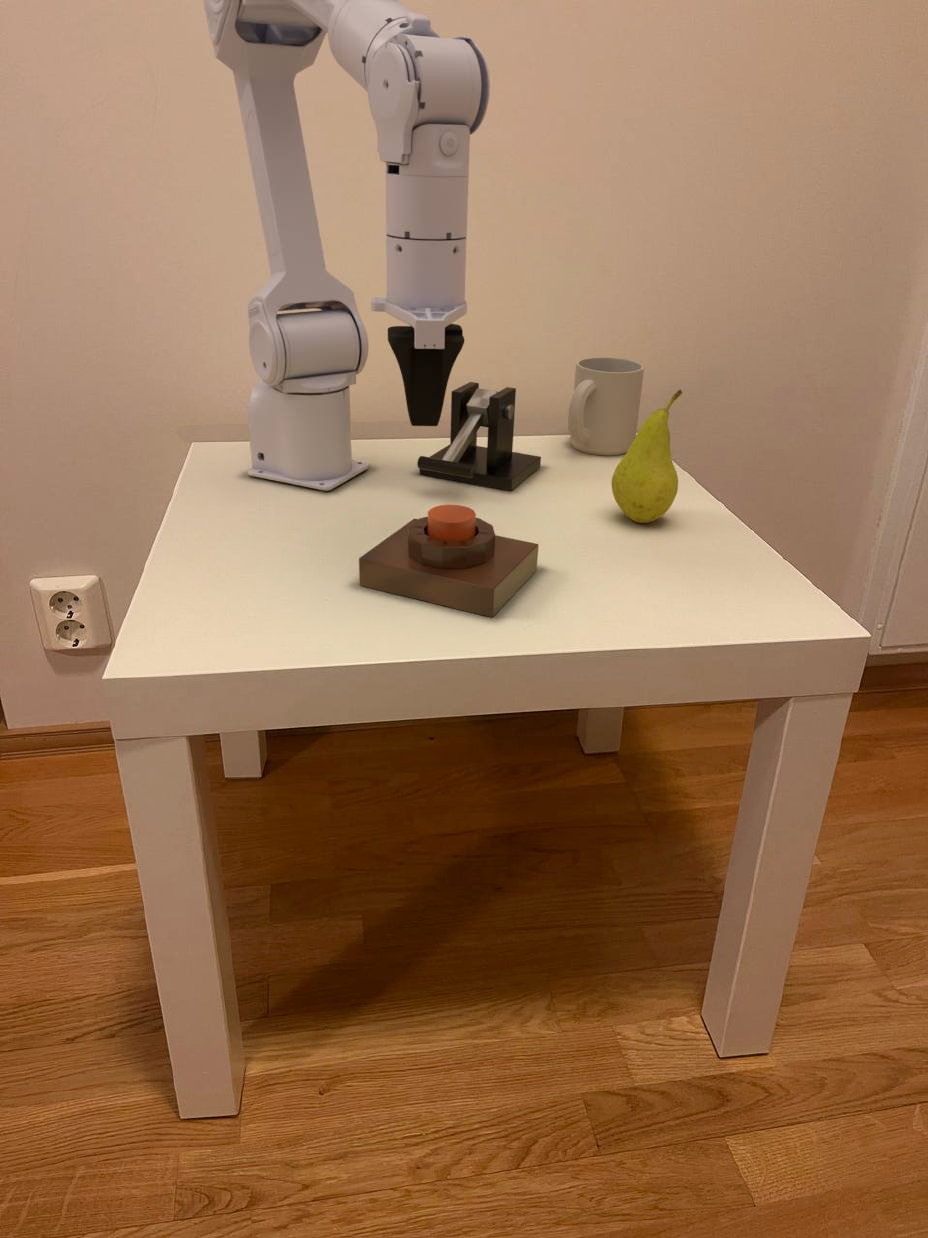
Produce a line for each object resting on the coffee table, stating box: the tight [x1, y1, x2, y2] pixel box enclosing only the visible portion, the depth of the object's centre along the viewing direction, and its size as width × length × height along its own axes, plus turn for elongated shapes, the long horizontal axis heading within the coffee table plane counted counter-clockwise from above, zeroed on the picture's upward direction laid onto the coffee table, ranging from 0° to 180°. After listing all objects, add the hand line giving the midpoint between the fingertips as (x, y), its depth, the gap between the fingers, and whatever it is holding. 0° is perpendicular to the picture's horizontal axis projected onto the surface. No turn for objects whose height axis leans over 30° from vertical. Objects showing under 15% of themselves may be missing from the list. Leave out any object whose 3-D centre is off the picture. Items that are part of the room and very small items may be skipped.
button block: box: [358, 516, 540, 618], centre depth 69 cm, size 11×9×4 cm
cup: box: [567, 356, 645, 456], centre depth 98 cm, size 7×10×9 cm
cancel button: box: [427, 504, 477, 541], centre depth 68 cm, size 4×4×2 cm
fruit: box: [611, 389, 683, 524], centre depth 79 cm, size 6×6×12 cm
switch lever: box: [416, 387, 498, 478], centre depth 87 cm, size 11×6×2 cm, turn 156°
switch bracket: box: [419, 381, 542, 492], centre depth 91 cm, size 8×10×8 cm
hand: (424, 423), depth 71 cm, fingers closed
